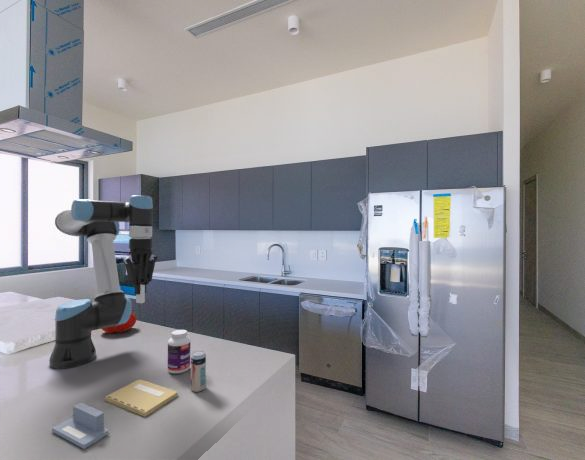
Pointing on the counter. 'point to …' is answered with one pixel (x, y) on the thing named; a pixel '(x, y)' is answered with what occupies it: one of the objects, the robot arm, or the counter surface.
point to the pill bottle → (178, 352)
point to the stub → (83, 426)
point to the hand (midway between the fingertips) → (140, 302)
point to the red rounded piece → (122, 325)
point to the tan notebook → (141, 397)
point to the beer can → (198, 371)
